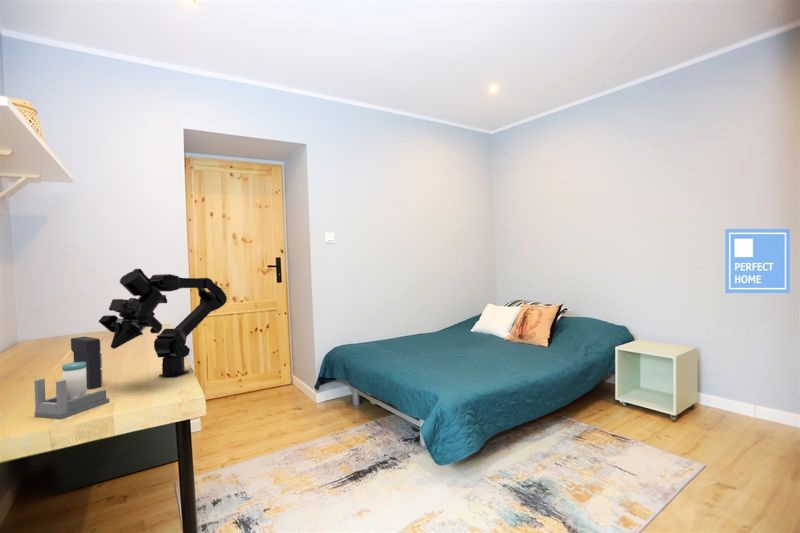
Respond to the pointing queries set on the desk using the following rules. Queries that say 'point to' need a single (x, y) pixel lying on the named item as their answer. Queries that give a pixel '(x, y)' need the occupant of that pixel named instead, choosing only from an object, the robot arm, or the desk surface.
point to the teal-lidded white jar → (75, 379)
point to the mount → (64, 401)
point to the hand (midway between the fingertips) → (112, 347)
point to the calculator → (89, 358)
